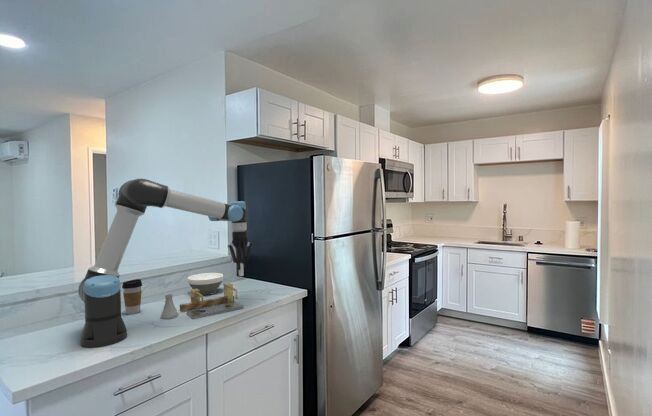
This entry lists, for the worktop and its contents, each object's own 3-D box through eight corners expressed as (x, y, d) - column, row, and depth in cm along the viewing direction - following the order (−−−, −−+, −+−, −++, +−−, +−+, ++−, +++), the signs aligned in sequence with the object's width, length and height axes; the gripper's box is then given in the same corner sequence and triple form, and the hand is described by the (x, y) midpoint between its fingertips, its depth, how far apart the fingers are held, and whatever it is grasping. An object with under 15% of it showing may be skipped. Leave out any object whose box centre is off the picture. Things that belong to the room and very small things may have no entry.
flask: (171, 319, 156) (170, 297, 156) (157, 319, 157) (156, 296, 157) (181, 314, 163) (180, 293, 163) (167, 314, 164) (166, 292, 164)
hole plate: (192, 319, 156) (192, 316, 156) (186, 314, 163) (186, 311, 163) (243, 308, 170) (243, 305, 170) (236, 304, 177) (236, 301, 177)
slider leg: (234, 306, 172) (233, 288, 171) (223, 300, 183) (223, 283, 183) (240, 305, 173) (239, 287, 173) (229, 299, 185) (229, 282, 184)
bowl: (210, 287, 216) (209, 271, 216) (231, 291, 205) (230, 274, 205) (180, 294, 201) (180, 277, 200) (201, 299, 189) (201, 281, 189)
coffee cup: (145, 311, 169) (144, 280, 168) (126, 316, 162) (125, 283, 162) (139, 308, 174) (138, 278, 174) (120, 312, 168) (119, 281, 168)
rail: (187, 317, 159) (186, 297, 158) (179, 310, 170) (178, 291, 170) (242, 306, 174) (241, 287, 174) (231, 300, 185) (230, 283, 185)
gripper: (230, 232, 178) (232, 278, 179) (254, 230, 186) (255, 274, 187) (224, 231, 184) (226, 276, 185) (248, 229, 192) (249, 272, 193)
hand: (241, 275), depth 186 cm, fingers closed
